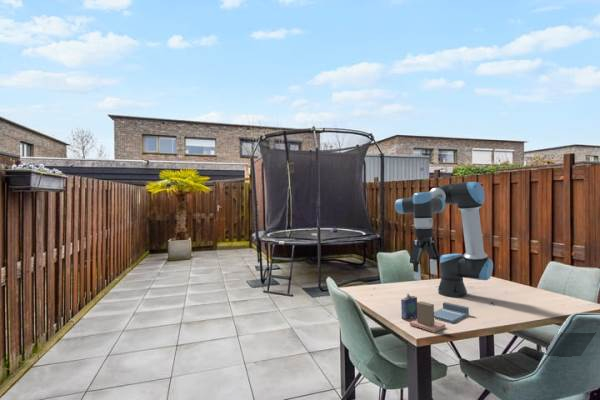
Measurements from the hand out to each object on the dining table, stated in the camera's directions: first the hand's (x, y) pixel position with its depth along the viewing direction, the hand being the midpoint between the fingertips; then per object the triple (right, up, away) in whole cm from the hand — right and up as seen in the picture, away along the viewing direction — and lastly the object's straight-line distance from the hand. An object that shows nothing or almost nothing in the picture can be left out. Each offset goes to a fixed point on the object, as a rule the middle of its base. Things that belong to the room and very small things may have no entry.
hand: (425, 276), depth 131 cm
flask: (-4, -22, +10) cm, 24 cm away
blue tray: (+15, -21, +10) cm, 27 cm away
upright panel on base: (0, -21, -2) cm, 21 cm away
